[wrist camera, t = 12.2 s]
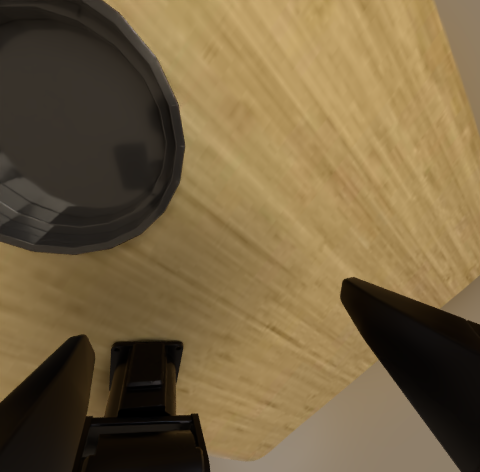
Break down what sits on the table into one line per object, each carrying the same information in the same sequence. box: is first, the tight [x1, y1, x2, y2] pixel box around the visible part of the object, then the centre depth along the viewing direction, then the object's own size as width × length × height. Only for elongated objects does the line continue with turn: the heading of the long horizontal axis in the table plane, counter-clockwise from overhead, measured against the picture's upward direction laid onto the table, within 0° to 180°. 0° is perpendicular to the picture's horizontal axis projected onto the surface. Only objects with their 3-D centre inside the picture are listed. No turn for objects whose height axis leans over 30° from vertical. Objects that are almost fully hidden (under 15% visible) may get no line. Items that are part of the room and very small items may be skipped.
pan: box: [0, 0, 185, 255], centre depth 14 cm, size 13×13×4 cm
